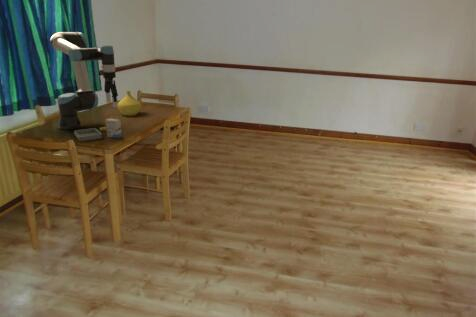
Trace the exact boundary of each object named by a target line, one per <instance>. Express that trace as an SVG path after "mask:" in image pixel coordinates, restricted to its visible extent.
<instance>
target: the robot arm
mask: <svg viewBox="0 0 476 317" xmlns="http://www.w3.org/2000/svg"><path fill="white" fill-rule="evenodd" d="M49 44H50V46H51V47H52V48H53V49H54V50H56V51H58V52H62V53H64V54H66V55H67V56H68V57H69V60H70V61H72V66H73V72H74V76H75V77H74V78H75V81H76V86H77V91H76V93H75V92H65V93H63V94H60V95H58V97H57V104H58V105H57V106H58V110H59V111H58V112H59V121H58V129H60V130H65V131H67V130H70V131H71V130H78V129H80V128H82V127H83V123H82V121H81V119H80V116H79V113H78V112H83V111H91V110H95V109H97V108H98V105H99V96H98V94H97V92H95V91H94V89H93V88H91V87H92V86H91V84H90V83H91V82H90V78H89V73H88V67H87V63H86V61H87V62H91V61H101V66H100V67H101V69H102V77H103V79H104V88H103V89H104V90H103V91H104V92H105V100H106V104H111V103H112V108H118V96H119V95H118V94H119V93H118V90H117V86H116V80H114V79H115V78H116V77H117V76H116V74H117V73H116V66H115V65H116V64H115V51H114V47H113V45H109V44H108V45H101V46H100V47H99V46H98V47H88V46H89V44H88V40H87V38H86V35H85V34H84V33H82V32H79V31H59V32H55V33H54V34H52V36H51V37H50V40H49Z"/></svg>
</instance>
